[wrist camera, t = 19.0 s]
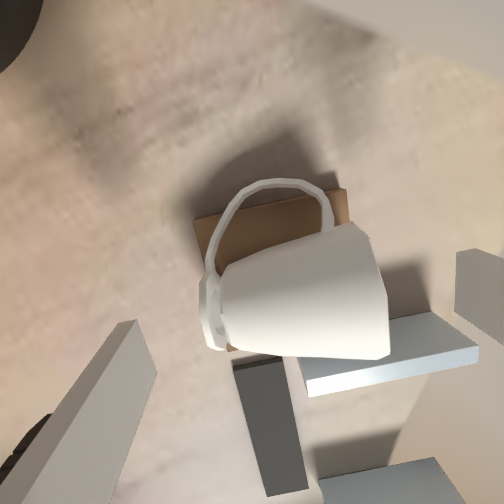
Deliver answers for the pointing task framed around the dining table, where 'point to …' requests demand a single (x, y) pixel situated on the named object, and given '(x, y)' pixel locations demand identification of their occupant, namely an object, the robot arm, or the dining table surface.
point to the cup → (298, 291)
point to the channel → (386, 369)
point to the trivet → (267, 227)
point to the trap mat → (272, 425)
